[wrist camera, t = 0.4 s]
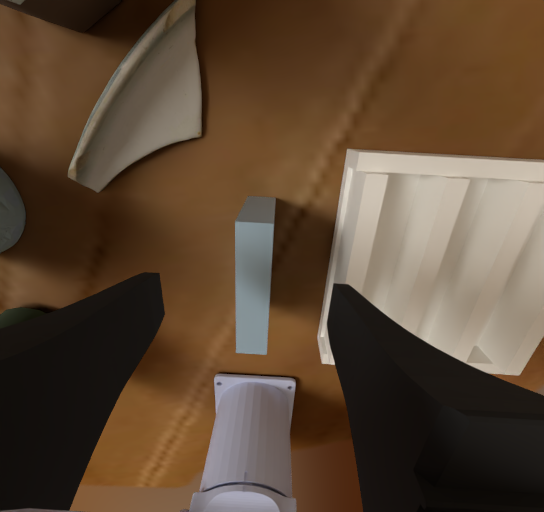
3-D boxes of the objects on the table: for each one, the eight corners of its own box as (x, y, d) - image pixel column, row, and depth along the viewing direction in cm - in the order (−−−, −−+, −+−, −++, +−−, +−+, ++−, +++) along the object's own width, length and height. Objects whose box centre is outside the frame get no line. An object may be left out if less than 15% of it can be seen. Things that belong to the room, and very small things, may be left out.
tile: (269, 302, 23) (266, 354, 18) (246, 300, 23) (236, 352, 18) (275, 197, 19) (273, 223, 14) (248, 195, 19) (235, 221, 14)
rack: (482, 347, 24) (517, 384, 21) (317, 337, 24) (323, 373, 21) (575, 161, 18) (651, 169, 14) (347, 148, 18) (364, 153, 14)
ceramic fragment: (194, -19, 15) (165, -64, 11) (262, 60, 16) (256, 42, 13) (77, 171, 19) (32, 180, 16) (138, 219, 21) (109, 238, 17)
